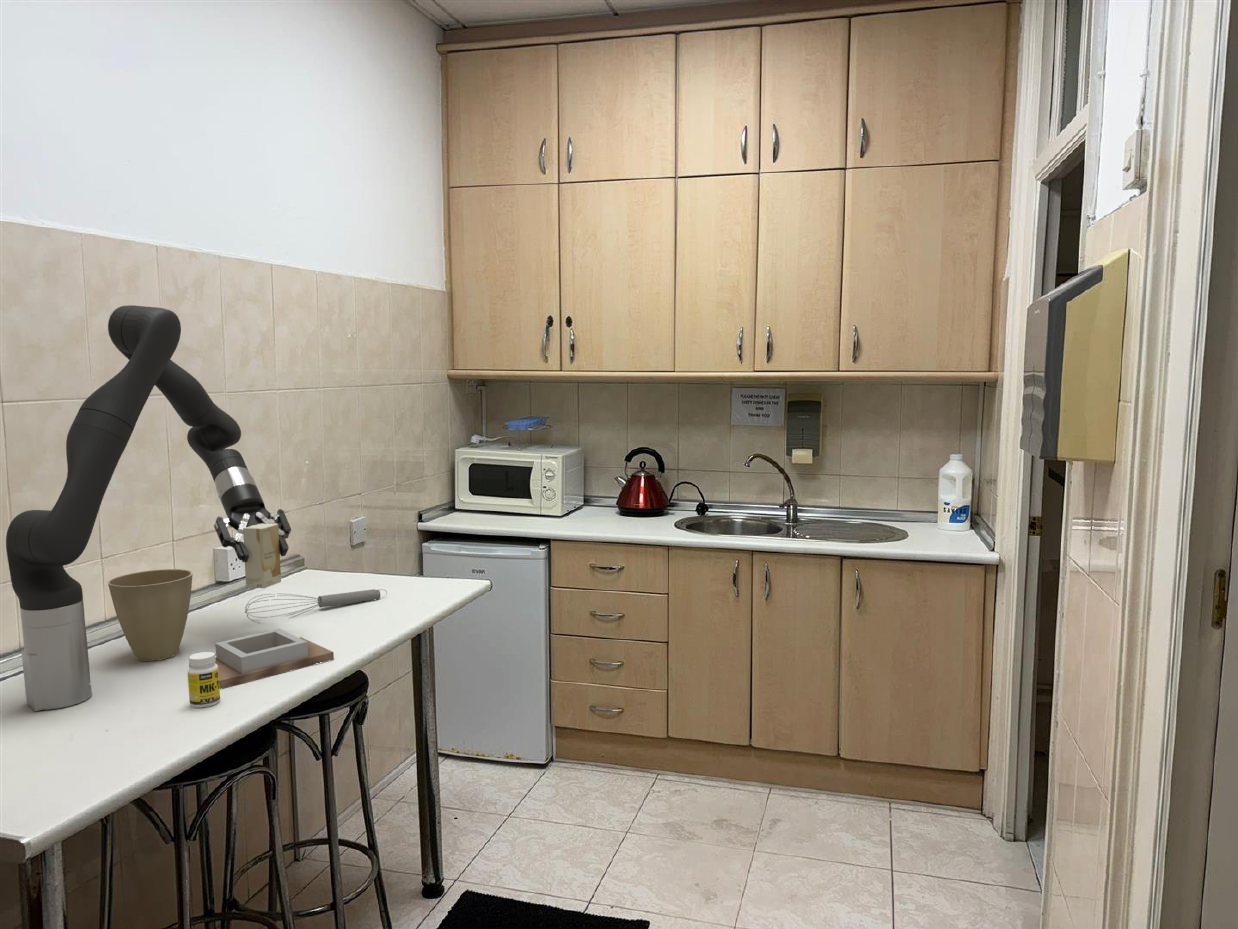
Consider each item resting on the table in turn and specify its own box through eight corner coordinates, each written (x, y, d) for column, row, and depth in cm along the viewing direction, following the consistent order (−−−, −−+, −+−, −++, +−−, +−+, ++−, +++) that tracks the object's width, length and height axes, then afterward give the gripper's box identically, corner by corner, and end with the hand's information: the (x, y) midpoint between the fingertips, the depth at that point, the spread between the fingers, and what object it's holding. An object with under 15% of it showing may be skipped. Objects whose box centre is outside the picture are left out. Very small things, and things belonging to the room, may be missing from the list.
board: (218, 689, 163) (217, 681, 163) (189, 671, 173) (189, 663, 173) (333, 659, 178) (333, 652, 178) (301, 644, 188) (301, 637, 188)
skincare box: (264, 589, 182) (261, 528, 181) (245, 588, 183) (241, 528, 182) (282, 581, 189) (279, 522, 187) (263, 581, 189) (260, 522, 188)
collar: (242, 673, 166) (241, 657, 166) (216, 658, 175) (215, 643, 175) (308, 657, 175) (307, 641, 175) (280, 643, 184) (279, 628, 184)
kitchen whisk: (392, 600, 222) (391, 574, 221) (251, 630, 200) (248, 602, 200) (381, 595, 227) (379, 570, 226) (241, 624, 205) (239, 597, 204)
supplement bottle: (201, 710, 153) (197, 661, 152) (184, 705, 156) (180, 657, 155) (226, 701, 157) (223, 653, 156) (209, 696, 160) (206, 649, 159)
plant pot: (214, 649, 186) (208, 572, 184) (146, 672, 173) (139, 589, 171) (166, 640, 193) (160, 565, 191) (98, 661, 180) (90, 581, 178)
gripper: (207, 486, 184) (234, 551, 177) (277, 478, 194) (305, 540, 187) (199, 509, 188) (225, 573, 181) (268, 501, 198) (294, 562, 191)
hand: (265, 556), depth 184 cm, fingers closed on skincare box, 7 cm apart
